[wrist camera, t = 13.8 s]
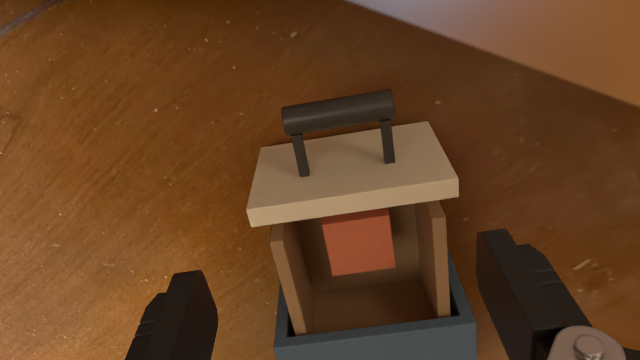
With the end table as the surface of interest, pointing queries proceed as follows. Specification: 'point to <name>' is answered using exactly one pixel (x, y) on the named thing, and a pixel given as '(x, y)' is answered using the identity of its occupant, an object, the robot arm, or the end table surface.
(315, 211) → the drawer
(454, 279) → the cabinet
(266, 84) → the end table surface
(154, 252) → the end table surface
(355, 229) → the block
